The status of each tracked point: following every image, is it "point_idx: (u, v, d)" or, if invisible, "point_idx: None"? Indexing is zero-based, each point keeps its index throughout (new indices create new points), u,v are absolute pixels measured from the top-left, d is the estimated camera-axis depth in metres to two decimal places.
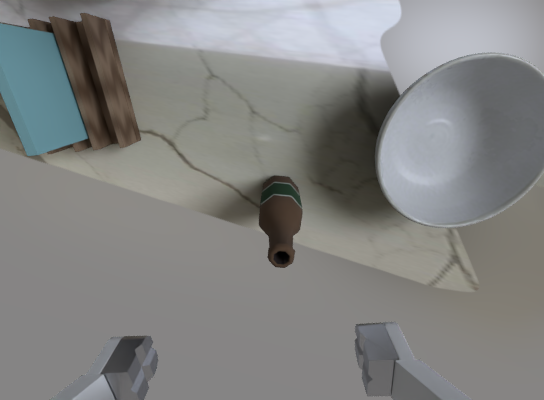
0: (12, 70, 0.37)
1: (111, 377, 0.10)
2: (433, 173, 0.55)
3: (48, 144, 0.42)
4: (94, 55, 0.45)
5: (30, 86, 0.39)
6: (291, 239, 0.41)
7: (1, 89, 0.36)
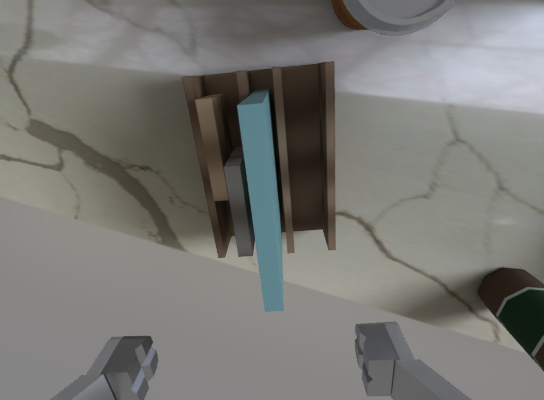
0: (271, 180, 0.20)
1: (111, 377, 0.10)
2: None
3: None
4: (329, 125, 0.28)
5: (274, 195, 0.23)
6: None
7: (257, 217, 0.20)
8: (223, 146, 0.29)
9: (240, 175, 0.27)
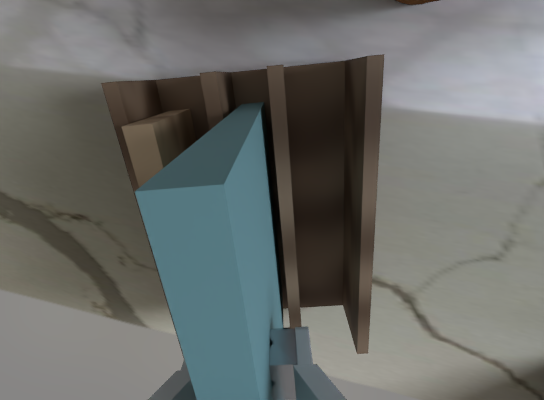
0: (262, 346, 0.08)
1: None
2: None
3: None
4: (369, 168, 0.16)
5: None
6: None
7: None
8: None
9: None
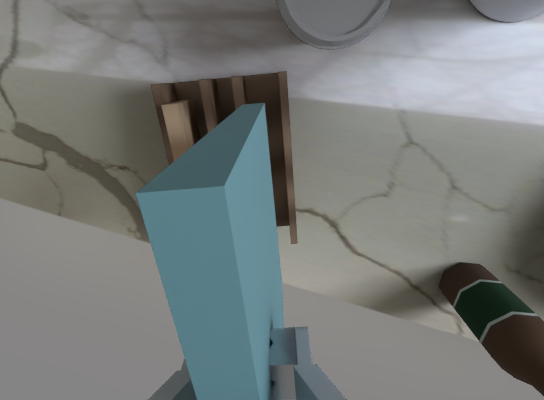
0: (262, 346, 0.08)
1: None
2: None
3: None
4: (285, 128, 0.31)
5: None
6: None
7: None
8: (190, 147, 0.32)
9: None
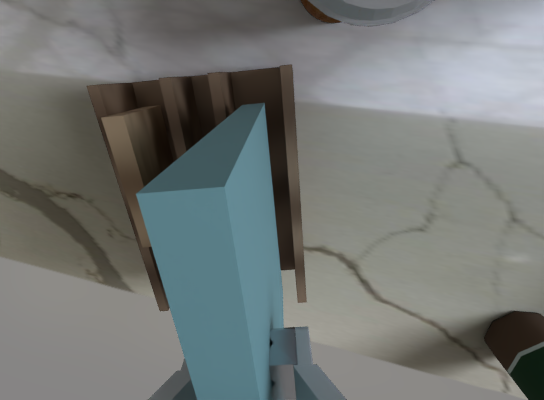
0: (262, 346, 0.08)
1: None
2: None
3: None
4: (290, 149, 0.21)
5: None
6: None
7: None
8: (153, 176, 0.22)
9: None
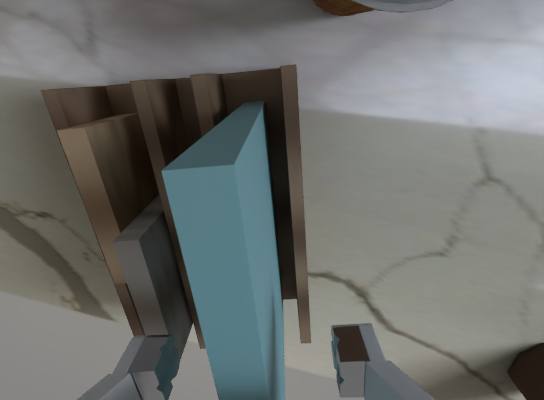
0: (264, 314, 0.09)
1: (137, 376, 0.10)
2: None
3: None
4: (293, 168, 0.17)
5: (271, 316, 0.12)
6: None
7: None
8: (127, 199, 0.19)
9: (142, 254, 0.16)
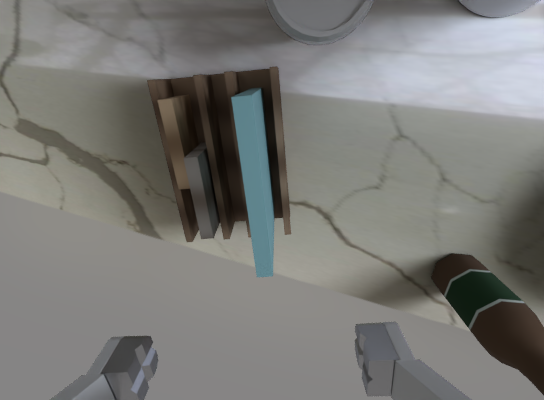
0: (261, 161, 0.24)
1: (111, 377, 0.10)
2: None
3: (272, 253, 0.29)
4: (277, 121, 0.32)
5: (264, 176, 0.27)
6: None
7: (248, 192, 0.24)
8: (186, 141, 0.34)
9: (198, 165, 0.31)
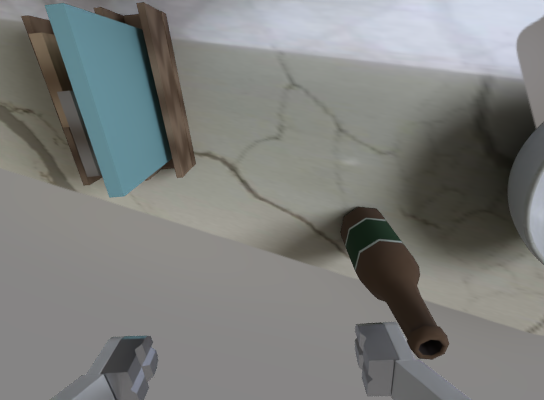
0: (96, 78, 0.25)
1: (111, 377, 0.10)
2: None
3: (133, 179, 0.30)
4: (152, 59, 0.34)
5: (114, 100, 0.28)
6: (430, 314, 0.30)
7: (82, 106, 0.25)
8: (68, 80, 0.35)
9: (72, 99, 0.33)
